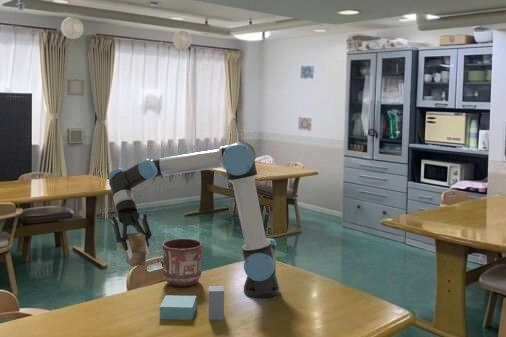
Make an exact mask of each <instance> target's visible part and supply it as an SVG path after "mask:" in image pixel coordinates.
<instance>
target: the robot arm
mask: <svg viewBox="0 0 506 337" xmlns="http://www.w3.org/2000/svg"><path fill="white" fill-rule="evenodd" d="M219 168H222V169H224V170H225V171H226V176H227V180H228V182H230V183H231V184H232V187H233V192H234V198H235V201H236V202H235V203H236V208H237V210H238V211H237V212H238V216H239V217H238V218H239V221H240V226H241V231H242V236H243V240H244V241H243V242H244V244H242V246H241V250H242V251H241V252H242V256H243V260H244V263H243V270H244V272H245V275H246V279H245V282H244V284H243V293H244V295H246V296H248V297H252V298H259V299H261V298H262V299H264V298H265V299H268V298H273V297H276V296H278V295H279V294H280V285H279V281H278V278H277V275H276V274H277V273H276V269H277V268H276V266H277V265H276V264H277V261H276V260H277V242H276V239H274V238H270V237H267V236H266V233H265V227H264V221H263V217H262V211H261V207H260V202H259V197H258V191H257V185H256V181H255V180H256V177H257V176H258V171H257V165H256V151H255V149H254V147H253V146H252V145H251V144H249V143H248V142H246V141H236V142H234V143H232V144H228V145H227V144H226V145H222V146H220V148H217V149H212V150H207V151H206V150H205V151H198V152H193V153H187V154H186V153H185V154H180V155H173V156H167V157H161V158H145V159H144V160H142V161H141V160H140V161H139V163H136V164H134V165H133V166H131V167H129V168H128V169H126V170H125V169H124V168H117V169H115V168H114V169H113V170H111V171H110V172H109V173H108V184H109V187H110V191H111V194H112V198H113V202H114V207H115V210H116V215H117V216H116V217H114V216H113V217H112V218H111V221H110V223H111V224H112V226H113V230H114V236H115V241H116V243H119V244H121V245H122V247H123V250H124V252H125V251H126V250H127V253H128V257H129V259H131V258H132V251H131V248H130V244H129V240H126V235H127V234H128V232H127V231H128V227H129V226H132V227H133V228H135V230H136V233H139V232H141V233H142V234H144V235H145V250H146V258H148V257H149V255H150V251H149V247H150V242H149V240H150V239H151V237H152V235H153V234H152V232H151V228H150V226H149V222H148V218H147V215H148V214H146V213H144V214H140V213H139V212H138V207H137V204H136V201H135V198H134V194H133V190H132V189H134V188H136V187H137V186H139V185H141V184H143V183H145V182H148V181H149V180H151V179H154V178H158V177H159V178H160V177H166V176H167V177H168V176H172V175H179V174H185V173H193V172H199V171H200V172H201V171H207V170H213V169H219ZM139 219H140V221H139ZM119 222H120V223H121V224H122V231H121V232H122V234H121V232H120V226H119ZM140 222H141V223H142V225H141V224H140ZM121 235H122V236H121Z"/></svg>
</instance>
